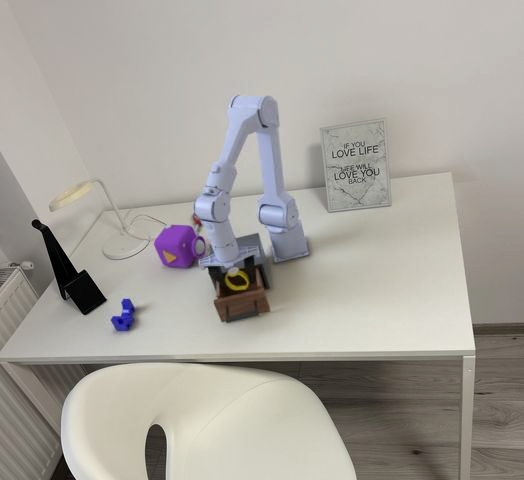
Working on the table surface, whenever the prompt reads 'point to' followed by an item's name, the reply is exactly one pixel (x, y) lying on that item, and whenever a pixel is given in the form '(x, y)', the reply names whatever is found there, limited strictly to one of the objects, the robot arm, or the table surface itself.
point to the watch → (234, 272)
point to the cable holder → (124, 316)
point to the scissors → (196, 222)
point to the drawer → (241, 298)
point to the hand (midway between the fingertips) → (238, 283)
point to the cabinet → (259, 261)
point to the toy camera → (179, 245)
